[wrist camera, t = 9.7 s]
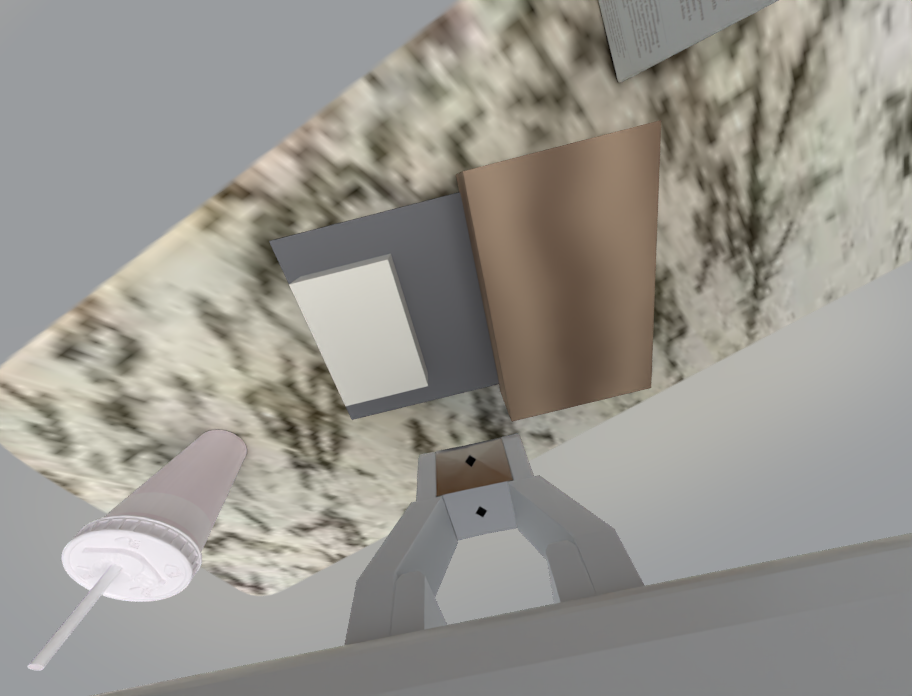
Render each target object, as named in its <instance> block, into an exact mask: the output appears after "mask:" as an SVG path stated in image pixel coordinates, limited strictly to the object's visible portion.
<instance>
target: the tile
mask: <svg viewBox="0 0 912 696" xmlns="http://www.w3.org/2000/svg"><path fill="white" fill-rule="evenodd" d="M289 285H290V288H291V290H292V292H293V294H294V296H295V298H296V301H297V303H298V305H299V307H300V309H301V311H302V313H303V316H304V318H305V320H306V322H307V324H308V326H309V329H310V331H311V333H312V335H313V337H314V339H315V341H316V344H317V346H318V348H319V350H320V352H321V354H322V357H323V359H324V361H325V363H326V365H327V367H328V369H329V372H330V374H331V376H332V378H333V380H334V382H335V385H336V387H337V389H338V391H339V393H340V395H341V398H342V400H343V402H344V404H345V406H349V405H353V404H357V403H361V402H365V401H369V400H373V399H378V398H382V397H386V396H390V395H394V394H398V393H402V392H406V391H410V390H414V389H418V388H422V387H426V386H428V371H427V368H426V365H425V362H424V358H423V355H422V352H421V349H420V346H419V342H418V339H417V336H416V333H415V330H414V326H413V323H412V320H411V317H410V314H409V310H408V307H407V304H406V301H405V297H404V294H403V291H402V288H401V285H400V281H399V278H398V275H397V272H396V269H395V265H394V262H393V259H392V256H391V254H387V255H383V256H379V257H375V258H371V259H367V260H363V261H359V262H355V263H352V264H348V265H344V266H340V267H336V268H332V269H328V270H324V271H320V272H316V273H312V274H308V275H304V276H300V277H299V278H298V279H296V280H295V281H293V282H292V283H291V284H289Z"/></svg>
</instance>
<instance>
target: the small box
mask: <svg viewBox="0 0 912 696" xmlns="http://www.w3.org/2000/svg"><path fill="white" fill-rule="evenodd" d="M776 1H778V0H599V4H600V9H601V13H602V17H603V21H604V26H605V30H606V34H607V38H608V42H609V46H610V51H611V55H612V59H613V63H614V67H615V71H616V75H617V80H618V82H623V81H625V80H627V79H629V78H631V77H633V76H635V75H637V74H639V73H640V72H642V71H644V70H646V69H648V68H650V67H652V66H654V65H656V64H657V63H659V62H661V61H663V60H665V59H667V58H669V57H671V56H673V55H675V54H677V53H678V52H680V51H682V50H684V49H686V48H688V47H690V46H692V45H694V44H696V43H698V42H700V41H702V40H704V39H705V38H707V37H709V36H711V35H713V34H715V33H717V32H719V31H721V30H723V29H725V28H727V27H728V26H730V25H732V24H734V23H736V22H738V21H740V20H742V19H744V18H746V17H748V16H750V15H752V14H754V13H755V12H757V11H759V10H761V9H763V8H765V7H767V6H769V5H771V4H772V3H774V2H776Z"/></svg>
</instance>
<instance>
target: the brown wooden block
mask: <svg viewBox="0 0 912 696" xmlns="http://www.w3.org/2000/svg"><path fill="white" fill-rule="evenodd" d="M660 138H661V120H660V121H656V122H652V123H648V124H645V125H641V126H637V127H633V128H629V129H625V130H621V131H617V132H614V133H610V134H606V135H602V136H598V137H594V138H590V139H586V140H582V141H579V142H575V143H571V144H567V145H563V146H559V147H555V148H551V149H548V150H544V151H540V152H536V153H532V154H528V155H524V156H520V157H517V158H513V159H509V160H505V161H501V162H497V163H493V164H489V165H486V166H482V167H478V168H474V169H470V170H466V171H463V172H460V173H458V174H456V178H457V183H458V188H459V192H460V193H461V198H462V203H463V208H464V213H465V218H466V223H467V228H468V233H469V238H470V243H471V247H472V252H473V257H474V262H475V267H476V272H477V277H478V282H479V287H480V292H481V297H482V302H483V306H484V311H485V316H486V321H487V326H488V331H489V336H490V341H491V346H492V351H493V356H494V360H495V365H496V370H497V375H498V380H499V388H500V392H501V395H502V397H503V400H504V402H505V405H506V408H507V410H508V413H509V416H510V418H511V421H516V420H520V419H524V418H528V417H533V416H537V415H541V414H545V413H549V412H553V411H557V410H561V409H566V408H570V407H574V406H578V405H582V404H586V403H590V402H594V401H599V400H603V399H607V398H611V397H615V396H619V395H623V394H628V393H632V392H636V391H640V390H644V389H648V388H651V377H652V351H653V324H654V297H655V271H656V244H657V217H658V191H659V164H660Z"/></svg>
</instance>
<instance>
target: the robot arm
mask: <svg viewBox="0 0 912 696" xmlns="http://www.w3.org/2000/svg"><path fill="white" fill-rule="evenodd" d="M515 528H518V530H519V531H520V532H521V533H522V534H523V535H524V537H525V538H526V539H527V540H528V541H529V542H530V543H531V544H532V545H533V546H534V547H535V548H536V549H537V550H538V551H539V553H540V554H541V555H542V556H543V557H544V558H545V559H546V560H547V563H548V569H549V576H550V581H551V588H552V595H553V600H554V604H550V605H545V606H540V607H535V608H530V609H525V610H520V611H515V612H510V613H505V614H500V615H495V616H490V617H485V618H480V619H475V620H470V621H465V622H460V623H455V624H450V625H447V623H446V621H445V619H444V617H443V614H442V612H441V610H440V608H439V606H438V604H437V601H436V599H435V596H436V594H437V592H438V589H439V587H440V585H441V582H442V580H443V577H444V575H445V573H446V570H447V568H448V565H449V563H450V561H451V558H452V555H453V553H454V551H455V549H456V546H457V544H458V540H462V539H466V538H470V537H474V536H478V535H483V534H487V533H492V532H498V531H504V530H509V529H515ZM91 696H912V533H909V534H904V535H898V536H893V537H888V538H883V539H878V540H873V541H868V542H863V543H858V544H853V545H848V546H843V547H838V548H833V549H828V550H823V551H818V552H813V553H808V554H802V555H797V556H792V557H787V558H782V559H777V560H773V561H767V562H762V563H757V564H752V565H747V566H742V567H737V568H732V569H727V570H722V571H717V572H712V573H707V574H702V575H697V576H692V577H687V578H682V579H676V580H671V581H666V582H662V583H657V584H651V585H646V586H645V585H644V584H643V582H642V580H641V578H640V576H639V574H638V572H637V570H636V568H635V567H634V565H633V563H632V561H631V559H630V557H629V555H628V554H627V551H626V550H625V548H624V546H623V544H622V542H621V540H620V538H619V536H618V535H617V533H616V531H615V529H614V528H612V527H611V526H610V525H608V524H607V523H605V522H604V521H603V520H601V519H600V518H598V517H597V516H596V515H594V514H593V513H591V512H590V511H589V510H587V509H586V508H584V507H583V506H582V505H580V504H579V503H577V502H576V501H574V500H573V499H572V498H570V497H569V496H568V495H566V494H565V493H563V492H562V491H560V490H559V489H558V488H556V487H555V486H554V485H552V484H551V483H549V482H548V481H547V480H545V479H544V478H542V477H541V476H534V475H533V472H532V469H531V466H530V463H529V460H528V458H527V455H526V452H525V449H524V446H523V443H522V441H521V438H520V435H519V434H518V433H517V434H513V435H508V436H504V437H502V438H496V439H492V440H488V441H483V442H479V443H474V444H470V445H466V446H461V447H455V448H450V449H445V450H440V451H436V452H432V453H426V454H421V455H420V456H419V458H418V474H417V495H416V502H412V503H411V504H410V505H409V506H408V508H407V509H406V511H405V512H404V514H403V515H402V517H401V518H400V519H399V521H398V522H397V524H396V525H395V527H394V528H393V529H392V531H391V532H390V534H389V535H388V537H387V538H386V540H385V541H384V542H383V544H382V545H381V547H380V548H379V550H378V551H377V553H376V554H375V556H374V557H373V558H372V560H371V561H370V563H369V564H368V566H367V567H366V569H365V570H364V572H363V573H362V574H361V576H360V577H359V579H358V580H357V582H356V587H355V592H354V598H353V603H352V608H351V613H350V619H349V624H348V629H347V634H346V640H345V645H344V646H339V647H334V648H329V649H324V650H319V651H314V652H309V653H304V654H299V655H294V656H289V657H284V658H279V659H274V660H269V661H263V662H258V663H253V664H249V665H243V666H238V667H233V668H228V669H223V670H218V671H213V672H208V673H203V674H198V675H193V676H188V677H183V678H177V679H172V680H167V681H162V682H157V683H152V684H147V685H142V686H137V687H132V688H127V689H122V690H117V691H112V692H106V693H101V694H96V695H91Z"/></svg>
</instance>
